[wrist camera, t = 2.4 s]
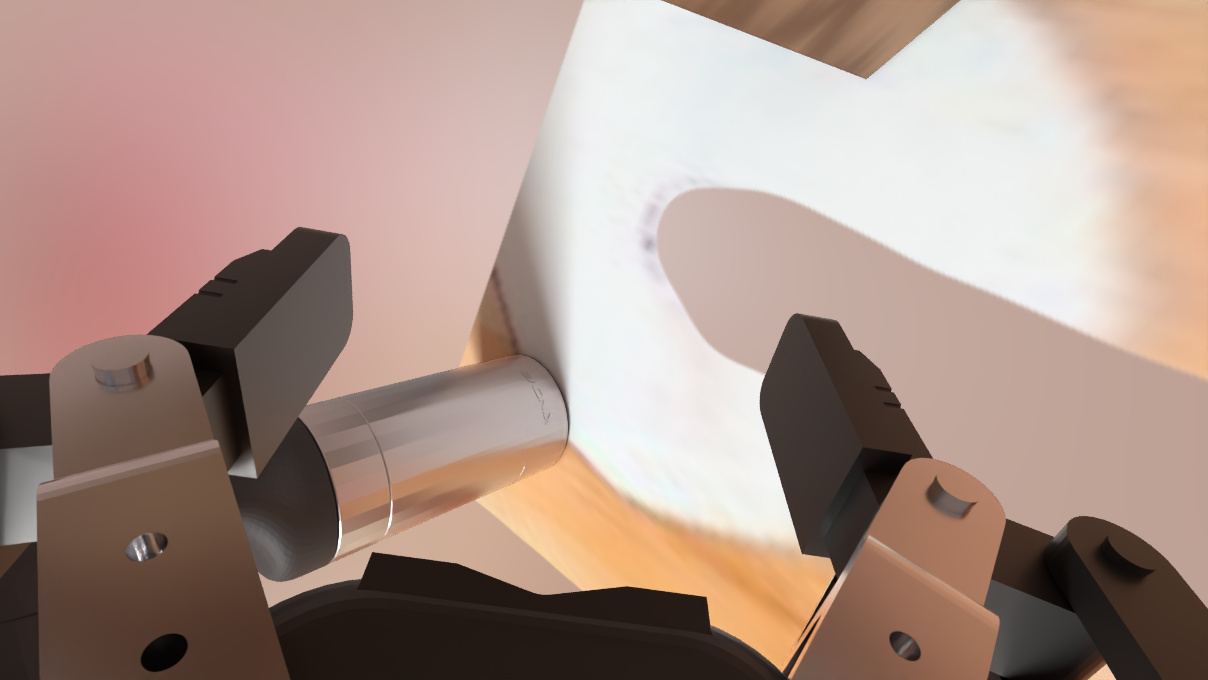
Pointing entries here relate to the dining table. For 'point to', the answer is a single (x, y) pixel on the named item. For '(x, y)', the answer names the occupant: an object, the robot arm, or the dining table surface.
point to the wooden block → (829, 26)
